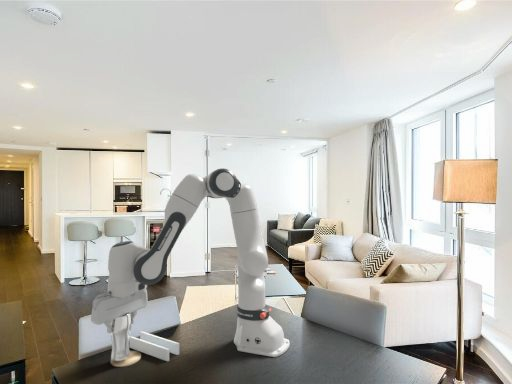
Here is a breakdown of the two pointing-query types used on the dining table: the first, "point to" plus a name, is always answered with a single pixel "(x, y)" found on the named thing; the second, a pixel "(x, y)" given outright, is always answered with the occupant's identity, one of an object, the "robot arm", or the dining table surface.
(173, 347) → the low plastic fence
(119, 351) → the beer glass
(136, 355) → the cork coaster
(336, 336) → the dining table surface
